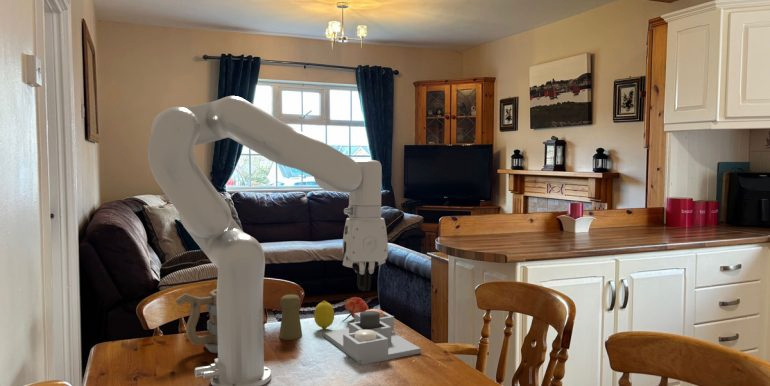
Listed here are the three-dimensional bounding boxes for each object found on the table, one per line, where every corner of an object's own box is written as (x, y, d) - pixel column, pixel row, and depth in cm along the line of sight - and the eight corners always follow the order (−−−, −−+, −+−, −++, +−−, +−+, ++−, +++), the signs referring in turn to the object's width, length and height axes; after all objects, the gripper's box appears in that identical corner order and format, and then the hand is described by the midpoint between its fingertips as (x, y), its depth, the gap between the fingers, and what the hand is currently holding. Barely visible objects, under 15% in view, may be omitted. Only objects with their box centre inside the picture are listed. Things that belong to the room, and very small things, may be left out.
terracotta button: (369, 330, 150) (369, 315, 149) (361, 325, 154) (361, 310, 154) (386, 327, 152) (386, 312, 152) (377, 322, 156) (377, 308, 156)
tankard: (248, 334, 152) (247, 279, 151) (265, 347, 142) (264, 288, 141) (170, 347, 142) (169, 288, 141) (182, 363, 131) (181, 299, 130)
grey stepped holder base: (357, 365, 130) (357, 344, 129) (319, 336, 150) (319, 318, 150) (424, 352, 138) (424, 332, 138) (380, 327, 159) (380, 309, 158)
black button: (365, 333, 140) (365, 317, 140) (356, 327, 145) (356, 312, 145) (383, 330, 143) (383, 314, 143) (374, 324, 147) (374, 309, 147)
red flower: (350, 333, 160) (377, 311, 161) (334, 313, 160) (361, 290, 161) (349, 328, 167) (375, 306, 168) (333, 309, 167) (360, 287, 168)
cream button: (360, 354, 132) (360, 337, 131) (351, 347, 136) (351, 331, 136) (379, 350, 134) (379, 334, 134) (370, 344, 138) (370, 328, 138)
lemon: (331, 333, 153) (330, 304, 153) (311, 331, 154) (311, 302, 154) (336, 327, 159) (336, 298, 158) (317, 325, 160) (317, 297, 159)
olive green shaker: (276, 334, 152) (276, 293, 152) (298, 331, 155) (298, 291, 154) (282, 341, 147) (282, 299, 146) (305, 337, 149) (304, 296, 149)
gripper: (342, 215, 126) (341, 296, 127) (400, 213, 133) (399, 290, 134) (329, 212, 132) (328, 289, 134) (385, 210, 140) (384, 283, 141)
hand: (364, 289), depth 134 cm, fingers closed
